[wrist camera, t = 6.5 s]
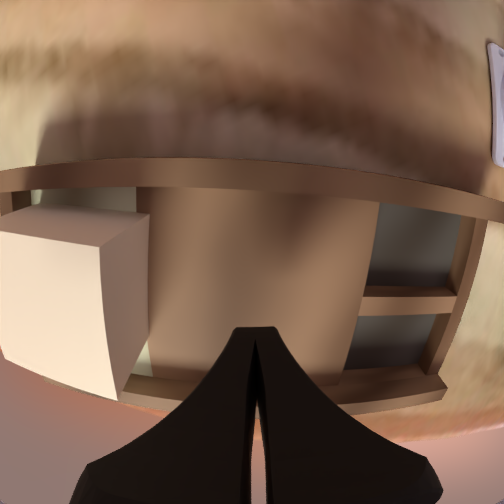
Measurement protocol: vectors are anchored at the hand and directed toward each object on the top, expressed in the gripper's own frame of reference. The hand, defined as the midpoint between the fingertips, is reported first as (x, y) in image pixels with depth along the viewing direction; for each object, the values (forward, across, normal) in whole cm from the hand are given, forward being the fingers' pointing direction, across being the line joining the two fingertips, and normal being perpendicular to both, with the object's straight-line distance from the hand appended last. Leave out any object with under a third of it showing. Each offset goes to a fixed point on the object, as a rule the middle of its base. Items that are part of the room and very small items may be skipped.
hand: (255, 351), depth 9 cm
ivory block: (+3, +8, -2) cm, 9 cm away
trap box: (+5, 0, 0) cm, 5 cm away
